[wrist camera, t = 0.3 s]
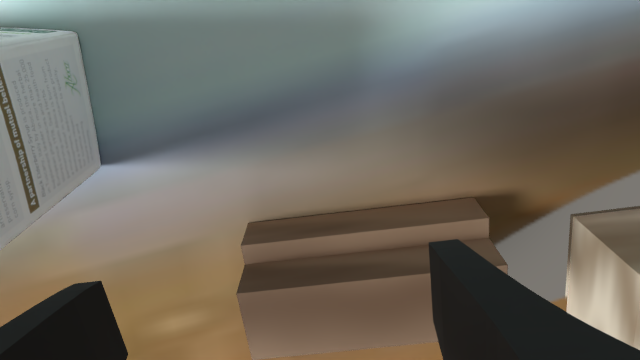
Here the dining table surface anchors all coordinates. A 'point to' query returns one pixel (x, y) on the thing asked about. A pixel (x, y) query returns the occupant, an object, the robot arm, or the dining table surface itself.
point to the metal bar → (606, 272)
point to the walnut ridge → (350, 276)
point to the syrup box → (42, 125)
